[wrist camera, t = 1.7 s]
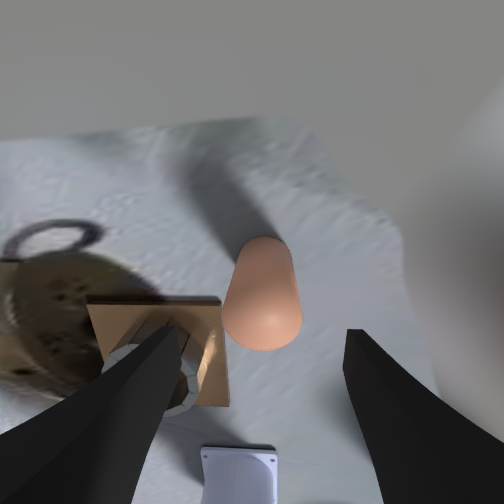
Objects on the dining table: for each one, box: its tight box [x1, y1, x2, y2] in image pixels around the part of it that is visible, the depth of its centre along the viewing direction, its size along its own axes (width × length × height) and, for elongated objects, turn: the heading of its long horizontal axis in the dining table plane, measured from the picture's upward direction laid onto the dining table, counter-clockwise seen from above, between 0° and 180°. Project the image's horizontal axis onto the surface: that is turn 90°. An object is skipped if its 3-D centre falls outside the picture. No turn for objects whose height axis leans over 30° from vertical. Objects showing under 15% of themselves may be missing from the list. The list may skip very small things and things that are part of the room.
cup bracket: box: [87, 301, 230, 418], centre depth 22 cm, size 11×11×3 cm
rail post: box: [222, 236, 302, 351], centre depth 16 cm, size 4×4×7 cm
